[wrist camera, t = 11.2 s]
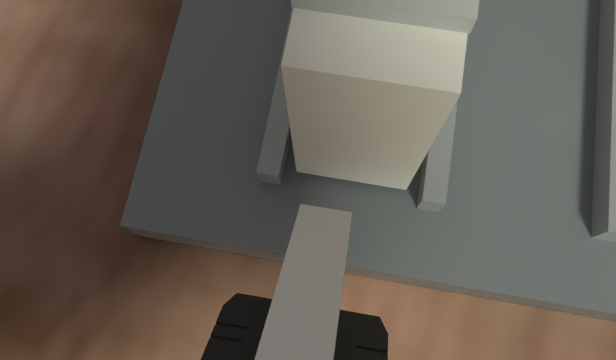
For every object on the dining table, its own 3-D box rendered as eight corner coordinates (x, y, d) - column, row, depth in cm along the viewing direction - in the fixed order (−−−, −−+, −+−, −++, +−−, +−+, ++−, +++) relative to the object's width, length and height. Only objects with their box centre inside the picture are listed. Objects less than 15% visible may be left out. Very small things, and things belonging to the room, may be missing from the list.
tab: (420, 89, 21) (488, -77, 12) (407, 190, 20) (470, 81, 11) (314, 73, 21) (310, -101, 13) (295, 171, 20) (276, 51, 12)
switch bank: (842, -8, 24) (918, -59, 21) (881, 369, 20) (984, 374, 17) (225, -90, 26) (212, -148, 23) (137, 235, 22) (107, 218, 19)
